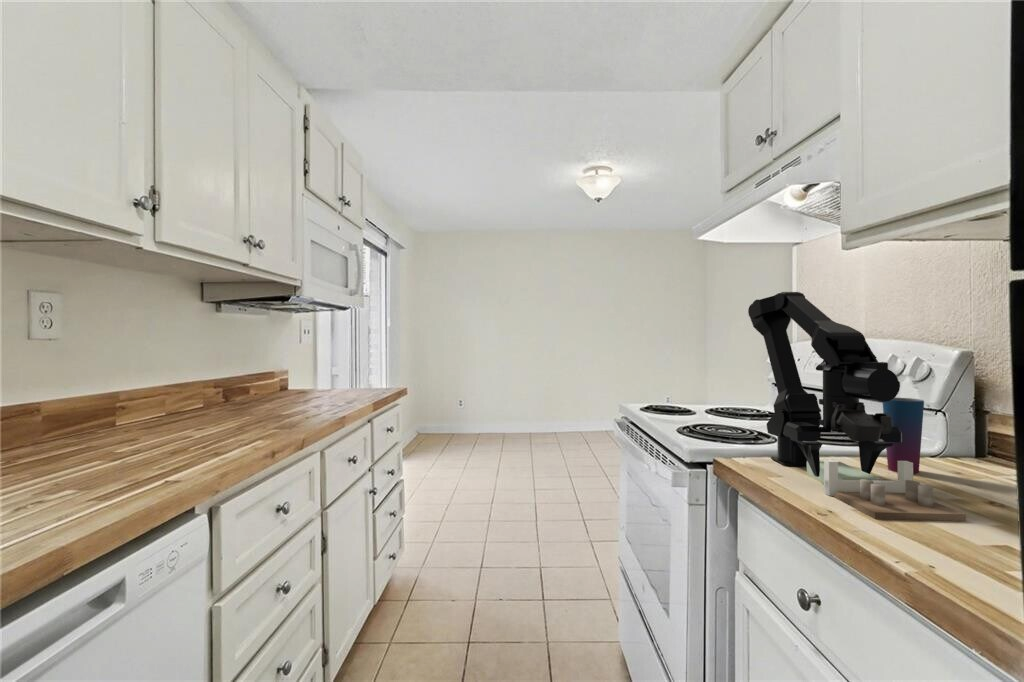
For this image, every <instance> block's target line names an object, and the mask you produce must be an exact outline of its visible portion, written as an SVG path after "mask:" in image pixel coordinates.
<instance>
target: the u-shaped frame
mask: <svg viewBox="0 0 1024 682" xmlns="http://www.w3.org/2000/svg"><path fill="white" fill-rule="evenodd" d="M823 462H824V483H823V494H825V495H827V496H829V497H835V492H860V480H838V462H839V461H836V460H834V459H823ZM905 480H913V481H914V474H913V463H912V462H908V461H898V472H897V480H871V481H873V484H879V485H883V486H885V493H905Z"/></svg>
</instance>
